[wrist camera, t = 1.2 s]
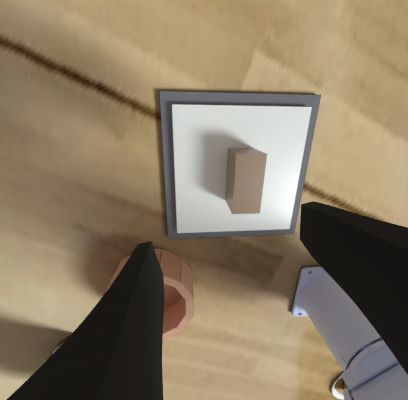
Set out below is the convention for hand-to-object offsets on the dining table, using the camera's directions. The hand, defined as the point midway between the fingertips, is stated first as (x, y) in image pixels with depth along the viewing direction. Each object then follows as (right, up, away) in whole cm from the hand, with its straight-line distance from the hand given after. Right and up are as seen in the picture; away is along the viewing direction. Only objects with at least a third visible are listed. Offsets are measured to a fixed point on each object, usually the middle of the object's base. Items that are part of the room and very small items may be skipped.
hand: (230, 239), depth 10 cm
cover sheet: (+2, +4, +10) cm, 11 cm away
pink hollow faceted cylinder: (-7, -8, +15) cm, 18 cm away
